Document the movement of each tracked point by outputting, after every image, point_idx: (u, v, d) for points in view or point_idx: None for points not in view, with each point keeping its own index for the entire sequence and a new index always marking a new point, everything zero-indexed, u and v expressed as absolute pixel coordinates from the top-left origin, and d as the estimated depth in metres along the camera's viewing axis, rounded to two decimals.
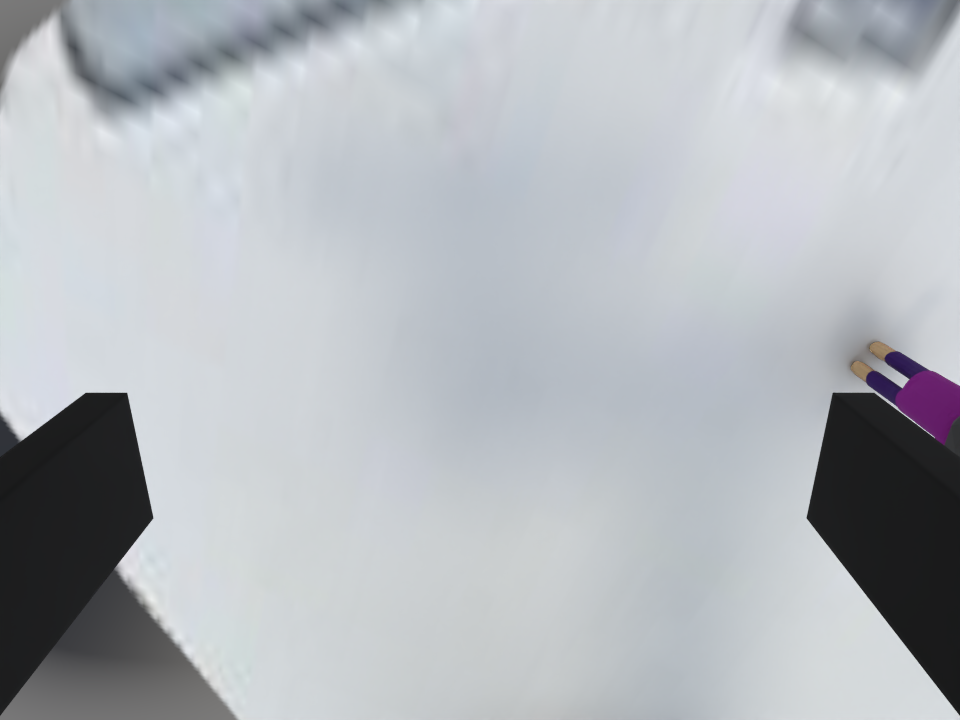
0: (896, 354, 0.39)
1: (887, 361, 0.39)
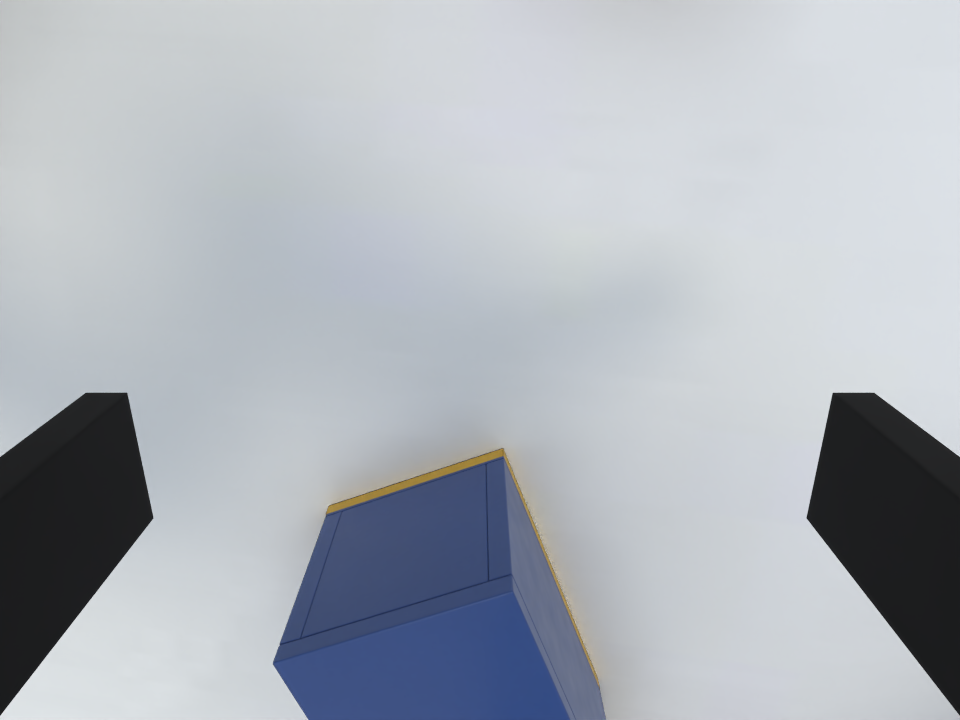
0: None
1: None
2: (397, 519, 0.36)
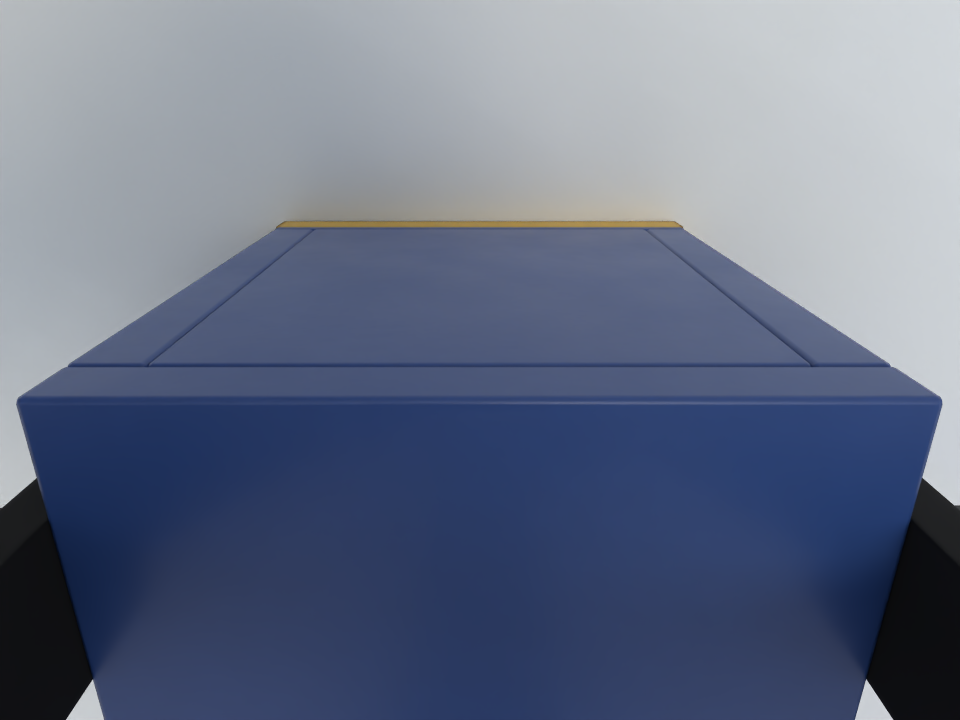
0: None
1: None
2: (453, 250, 0.15)
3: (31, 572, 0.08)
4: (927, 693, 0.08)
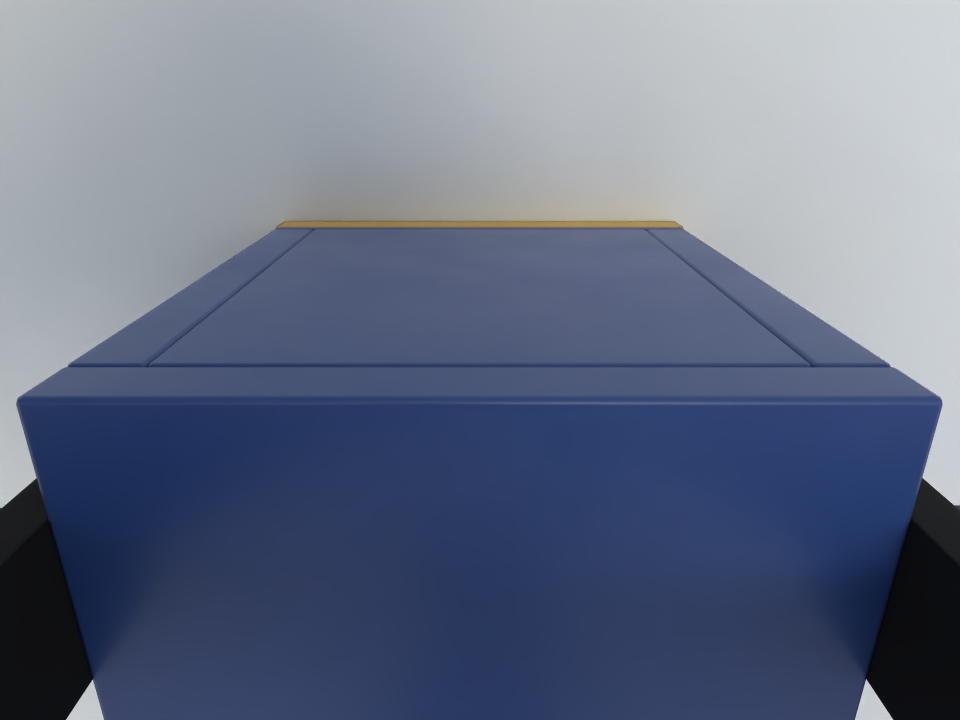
0: None
1: None
2: (452, 250, 0.15)
3: (31, 573, 0.08)
4: (927, 693, 0.08)
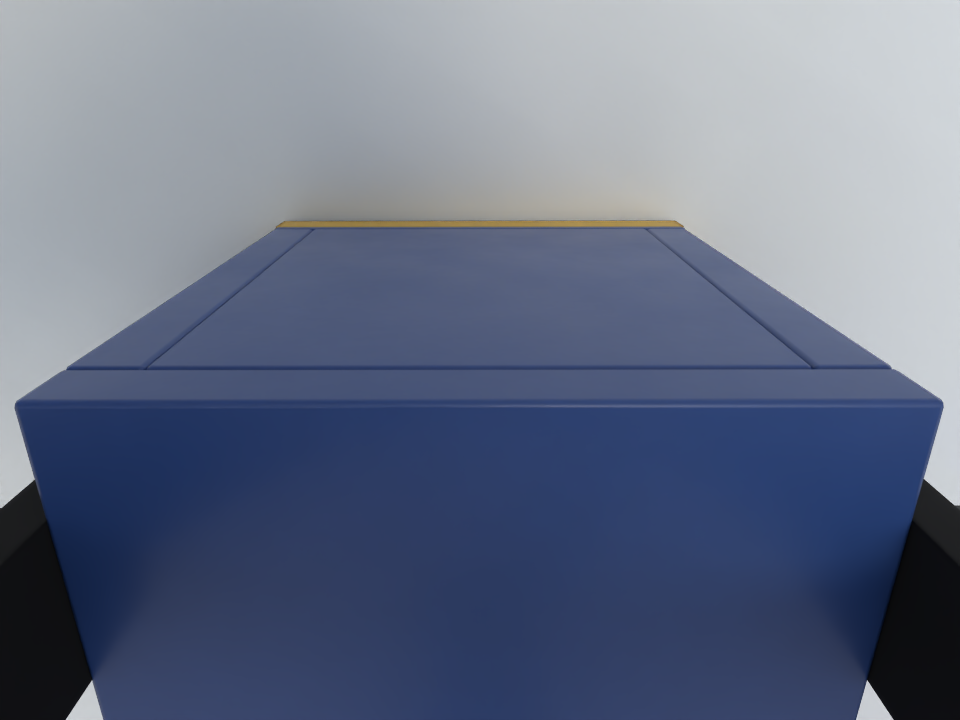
0: None
1: None
2: (452, 251, 0.15)
3: (31, 573, 0.08)
4: (928, 693, 0.08)
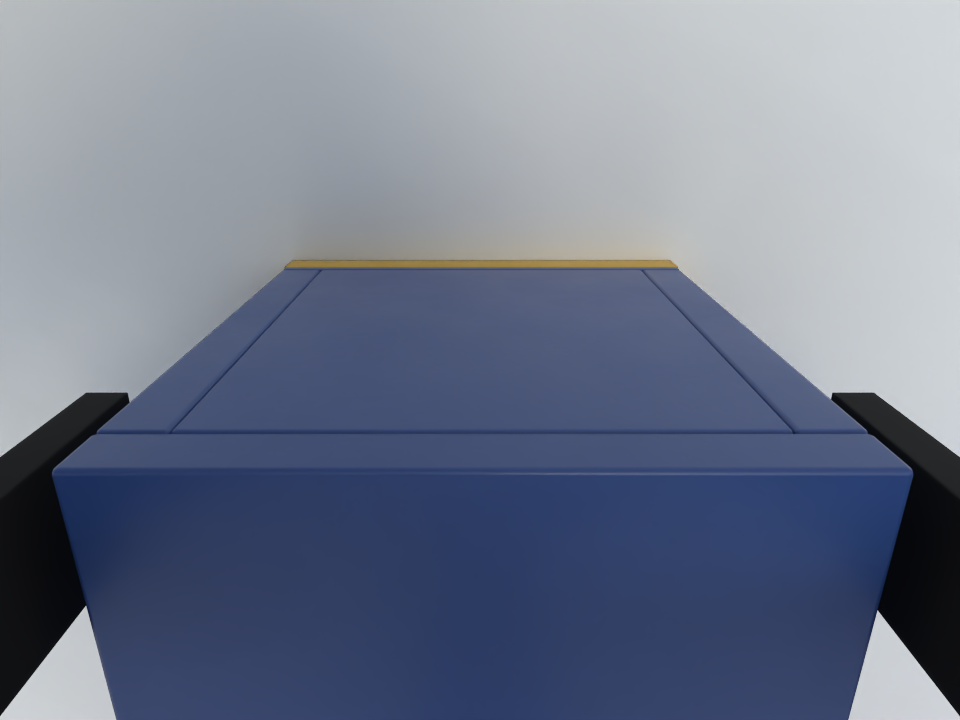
0: None
1: None
2: (455, 296, 0.16)
3: None
4: None
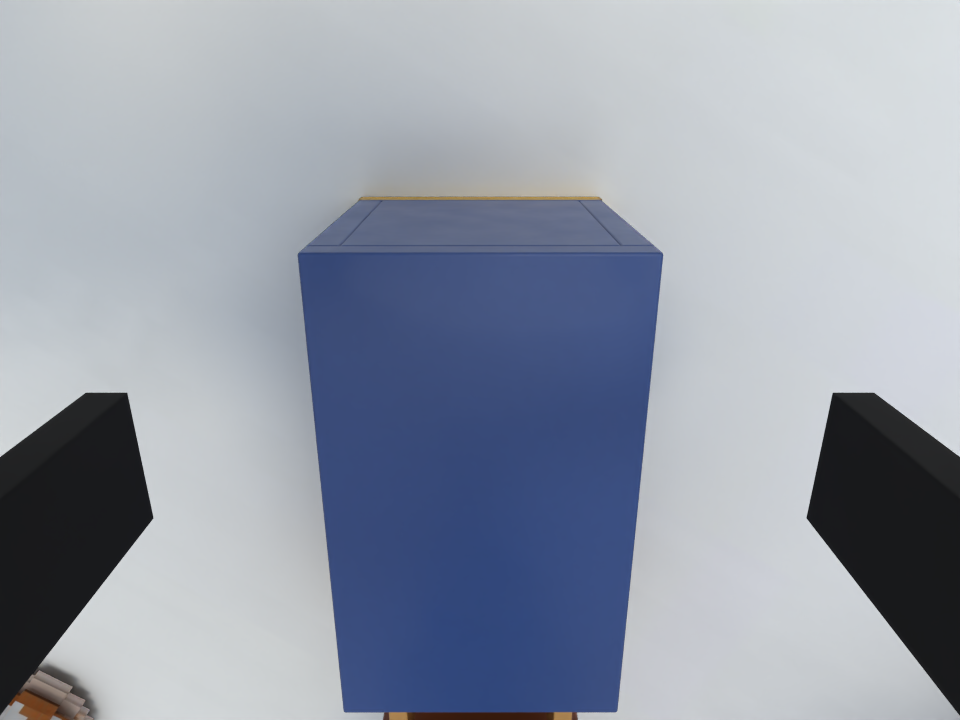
0: None
1: None
2: (465, 210, 0.28)
3: None
4: None
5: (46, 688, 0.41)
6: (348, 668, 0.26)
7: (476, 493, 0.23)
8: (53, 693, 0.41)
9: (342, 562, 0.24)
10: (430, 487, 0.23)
